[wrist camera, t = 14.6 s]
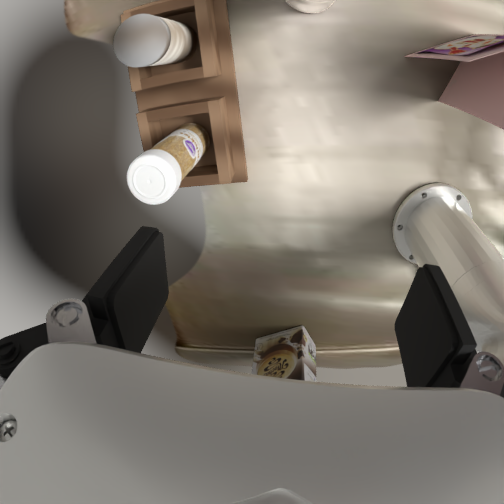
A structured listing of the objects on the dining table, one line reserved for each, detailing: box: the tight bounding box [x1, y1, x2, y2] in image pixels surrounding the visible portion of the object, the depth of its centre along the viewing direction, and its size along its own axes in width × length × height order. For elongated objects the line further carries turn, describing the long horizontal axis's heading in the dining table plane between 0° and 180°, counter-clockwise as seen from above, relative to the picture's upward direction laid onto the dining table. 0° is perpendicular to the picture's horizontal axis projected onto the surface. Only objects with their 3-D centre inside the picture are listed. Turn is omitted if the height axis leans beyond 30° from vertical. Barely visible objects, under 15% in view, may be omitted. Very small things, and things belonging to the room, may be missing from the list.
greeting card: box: [404, 34, 504, 129], centre depth 22 cm, size 11×7×15 cm, turn 120°
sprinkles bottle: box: [127, 123, 210, 205], centre depth 31 cm, size 5×5×13 cm
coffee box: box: [252, 326, 316, 382], centre depth 49 cm, size 9×6×16 cm
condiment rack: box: [113, 0, 248, 188], centre depth 29 cm, size 24×12×11 cm, turn 6°
